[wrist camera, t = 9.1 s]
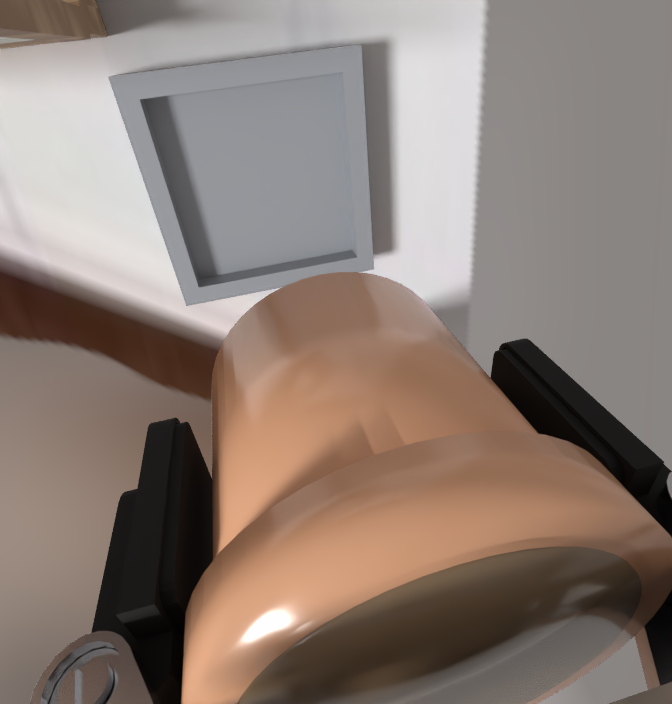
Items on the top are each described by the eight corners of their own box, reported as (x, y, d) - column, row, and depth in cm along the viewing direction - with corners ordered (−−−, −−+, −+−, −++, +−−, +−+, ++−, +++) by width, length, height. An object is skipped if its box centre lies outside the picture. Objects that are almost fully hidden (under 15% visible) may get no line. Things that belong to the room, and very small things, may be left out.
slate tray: (116, 75, 25) (108, 76, 23) (350, 45, 27) (361, 44, 25) (188, 290, 34) (186, 305, 32) (364, 256, 35) (373, 269, 33)
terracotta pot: (153, 289, 9) (67, 650, 4) (467, 229, 10) (780, 444, 5) (233, 498, 14) (249, 818, 8) (451, 442, 14) (606, 691, 9)
